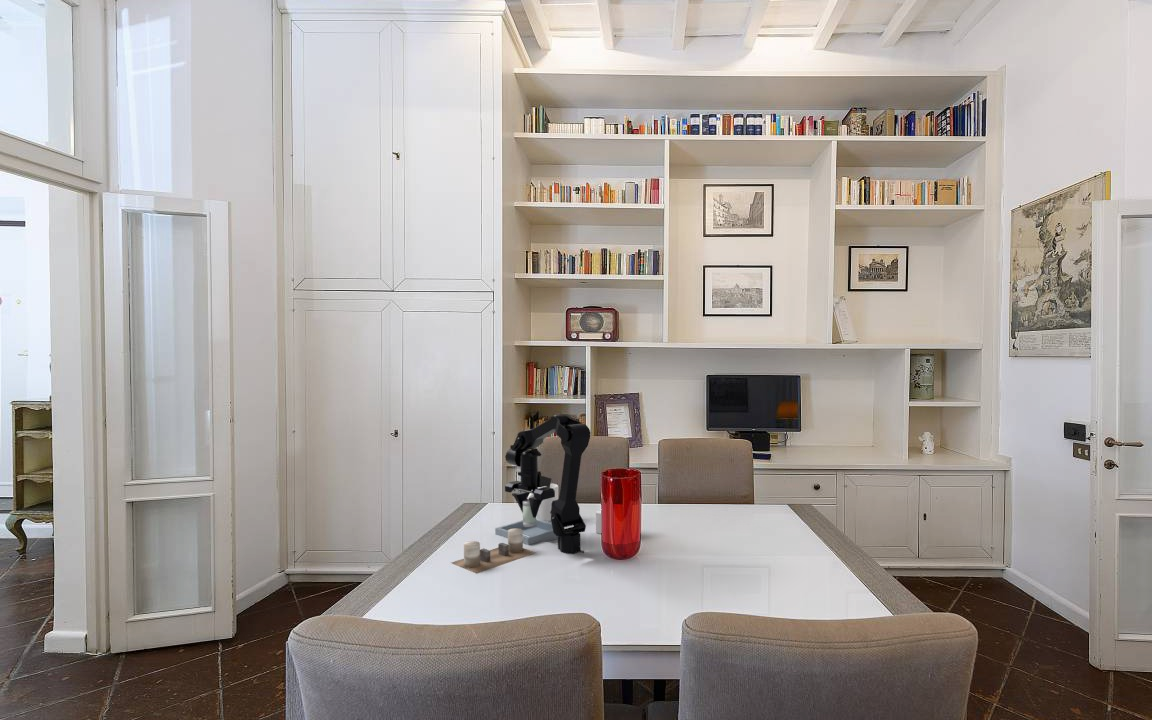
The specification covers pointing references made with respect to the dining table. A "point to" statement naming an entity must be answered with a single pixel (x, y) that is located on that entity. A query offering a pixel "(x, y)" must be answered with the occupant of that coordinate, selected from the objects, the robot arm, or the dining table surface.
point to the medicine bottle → (598, 520)
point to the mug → (546, 505)
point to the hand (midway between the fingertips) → (529, 516)
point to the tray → (530, 531)
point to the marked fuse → (528, 515)
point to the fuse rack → (493, 553)
